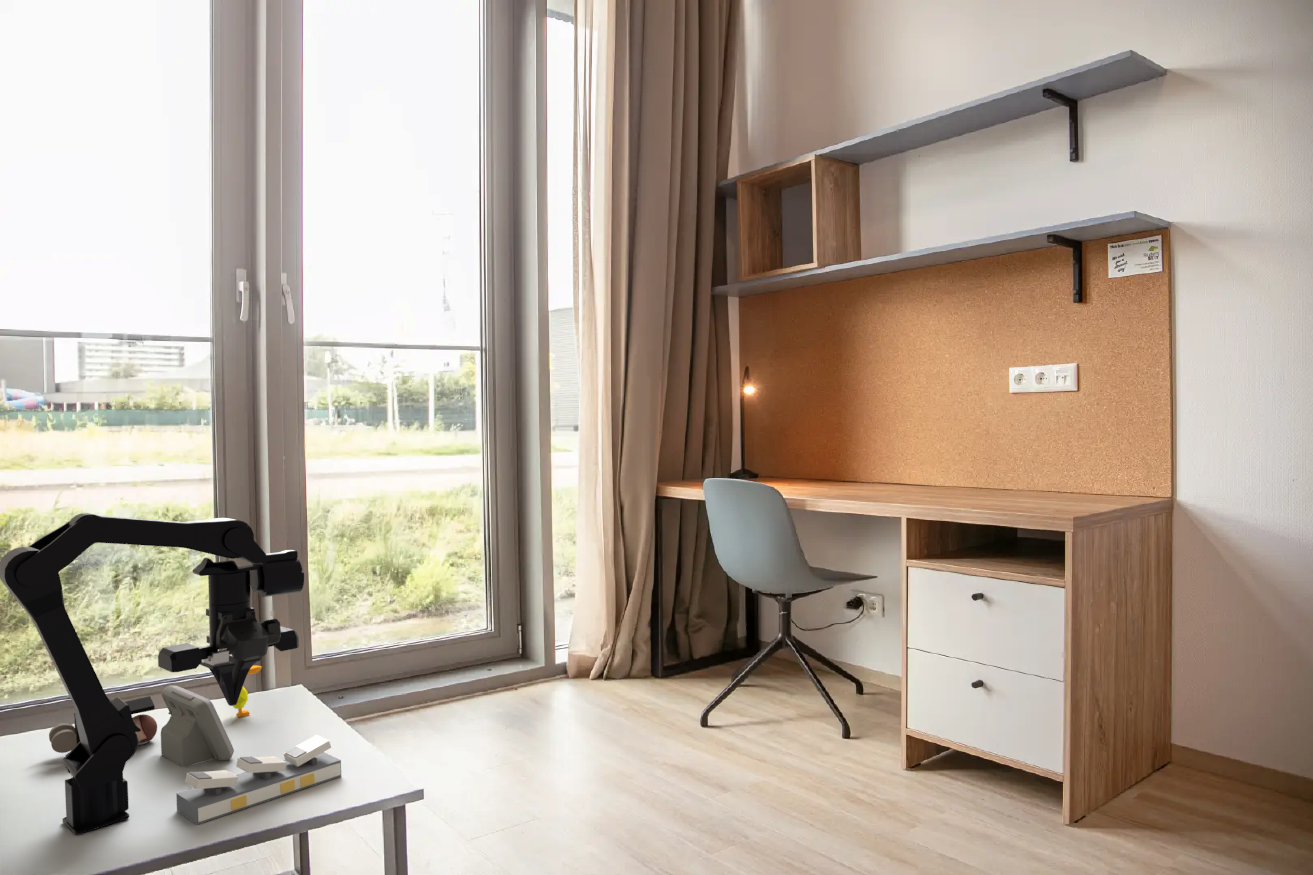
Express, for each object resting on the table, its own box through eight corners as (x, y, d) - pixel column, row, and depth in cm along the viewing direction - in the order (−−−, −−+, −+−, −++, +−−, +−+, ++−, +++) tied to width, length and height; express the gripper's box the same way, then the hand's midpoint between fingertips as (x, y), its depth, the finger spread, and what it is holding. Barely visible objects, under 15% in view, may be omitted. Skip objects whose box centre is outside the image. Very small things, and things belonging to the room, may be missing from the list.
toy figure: (260, 708, 172) (258, 645, 172) (265, 712, 170) (263, 649, 169) (222, 716, 168) (219, 652, 168) (226, 721, 165) (224, 656, 165)
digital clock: (236, 761, 145) (234, 695, 145) (174, 776, 140) (171, 708, 140) (214, 735, 158) (212, 674, 158) (156, 747, 153) (154, 685, 153)
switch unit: (198, 825, 122) (197, 800, 122) (177, 810, 127) (176, 786, 127) (342, 776, 137) (342, 754, 137) (318, 765, 142) (318, 743, 142)
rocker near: (196, 789, 124) (198, 778, 124) (185, 781, 126) (187, 771, 127) (236, 785, 128) (238, 775, 128) (224, 778, 130) (226, 768, 131)
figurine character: (56, 776, 145) (162, 743, 154) (48, 730, 144) (154, 700, 153) (54, 764, 150) (156, 733, 159) (45, 720, 150) (148, 691, 159)
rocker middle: (248, 772, 129) (250, 763, 129) (236, 766, 131) (238, 756, 132) (284, 770, 133) (286, 761, 133) (272, 764, 135) (274, 754, 136)
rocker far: (297, 766, 134) (295, 758, 134) (285, 760, 137) (282, 752, 137) (331, 747, 138) (328, 739, 138) (318, 741, 141) (316, 733, 141)
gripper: (185, 619, 124) (188, 732, 124) (314, 598, 138) (317, 700, 138) (155, 609, 131) (158, 716, 132) (280, 590, 145) (283, 687, 145)
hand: (232, 704), depth 136 cm, fingers closed
